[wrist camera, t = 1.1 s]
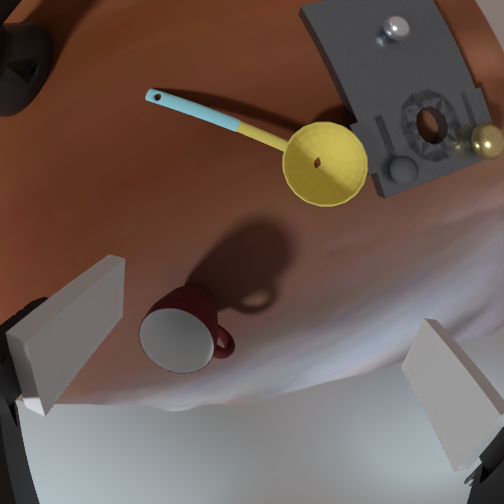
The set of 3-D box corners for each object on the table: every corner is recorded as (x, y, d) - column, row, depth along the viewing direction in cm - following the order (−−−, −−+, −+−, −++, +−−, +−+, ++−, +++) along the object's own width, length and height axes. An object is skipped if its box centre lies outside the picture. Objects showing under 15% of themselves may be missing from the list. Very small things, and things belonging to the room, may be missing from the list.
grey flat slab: (291, 17, 30) (292, 8, 27) (422, -7, 27) (430, -14, 24) (370, 198, 35) (377, 201, 33) (489, 152, 33) (500, 153, 30)
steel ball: (374, 23, 27) (383, 12, 24) (396, 19, 27) (406, 9, 23) (386, 46, 28) (396, 37, 25) (408, 41, 27) (419, 33, 24)
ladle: (344, 216, 36) (345, 223, 30) (157, 131, 39) (132, 126, 34) (376, 149, 33) (383, 143, 27) (182, 71, 37) (160, 59, 31)
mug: (255, 300, 40) (251, 344, 30) (225, 346, 42) (215, 394, 32) (180, 259, 39) (154, 292, 29) (155, 309, 41) (128, 350, 31)
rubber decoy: (382, 160, 32) (393, 160, 29) (406, 151, 31) (418, 151, 28) (391, 187, 33) (402, 190, 29) (414, 178, 32) (427, 181, 29)
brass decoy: (459, 127, 30) (481, 125, 25) (484, 119, 29) (505, 117, 25) (470, 163, 31) (492, 165, 27) (493, 154, 30) (515, 155, 26)
